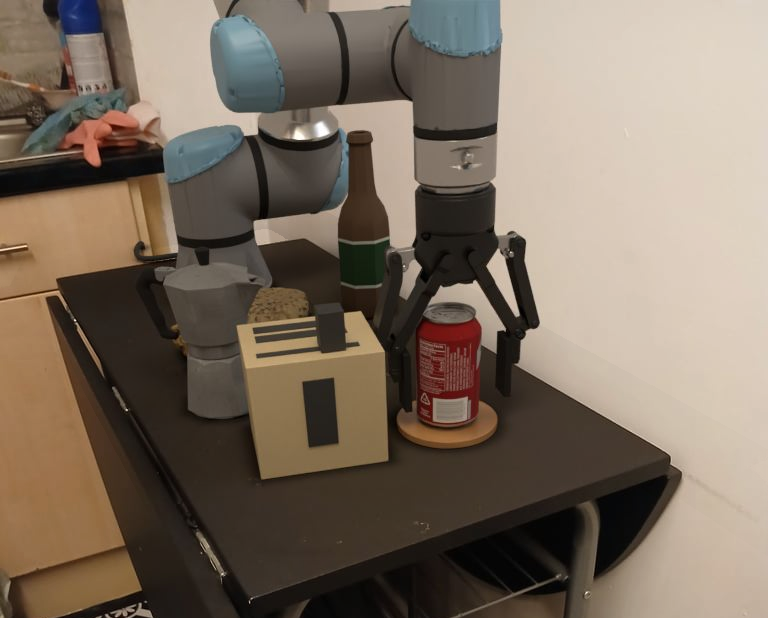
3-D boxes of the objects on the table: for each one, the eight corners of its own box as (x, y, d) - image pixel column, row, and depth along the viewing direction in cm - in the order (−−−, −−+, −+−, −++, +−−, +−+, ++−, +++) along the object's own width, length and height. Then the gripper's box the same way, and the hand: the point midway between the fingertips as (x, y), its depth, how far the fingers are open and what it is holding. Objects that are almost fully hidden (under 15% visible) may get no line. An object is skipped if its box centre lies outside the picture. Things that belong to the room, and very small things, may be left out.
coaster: (386, 408, 90) (386, 402, 90) (478, 395, 92) (478, 389, 92) (411, 455, 81) (410, 448, 81) (511, 440, 83) (512, 433, 83)
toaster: (251, 428, 87) (236, 324, 80) (366, 413, 90) (360, 309, 83) (261, 480, 78) (245, 367, 71) (389, 461, 81) (385, 350, 74)
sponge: (205, 389, 99) (340, 323, 104) (178, 331, 95) (320, 266, 101) (179, 370, 110) (303, 312, 115) (154, 317, 106) (283, 259, 111)
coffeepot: (293, 389, 95) (277, 237, 85) (263, 426, 88) (241, 264, 77) (178, 378, 99) (149, 231, 89) (139, 413, 91) (103, 256, 81)
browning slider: (317, 343, 76) (313, 304, 73) (341, 340, 76) (339, 301, 74) (321, 352, 74) (318, 313, 72) (346, 349, 74) (344, 310, 72)
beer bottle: (332, 316, 115) (319, 136, 101) (353, 298, 121) (344, 125, 107) (381, 322, 112) (375, 138, 99) (401, 303, 118) (397, 127, 105)
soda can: (474, 434, 83) (478, 325, 76) (411, 429, 84) (409, 322, 77) (481, 405, 88) (485, 300, 82) (421, 401, 90) (421, 298, 83)
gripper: (341, 207, 68) (359, 431, 81) (588, 179, 72) (567, 397, 85) (326, 187, 74) (345, 399, 87) (554, 162, 78) (539, 369, 91)
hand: (454, 398), depth 86 cm, fingers open, 10 cm apart
